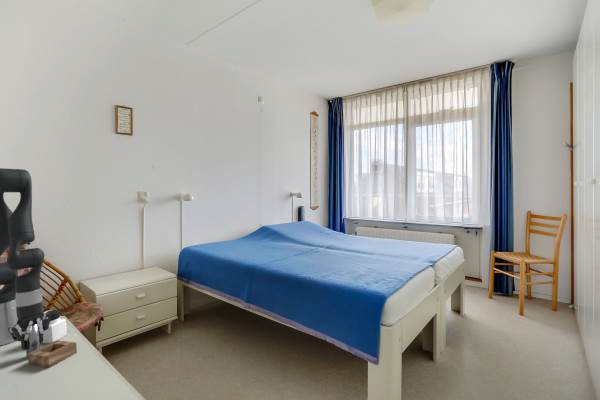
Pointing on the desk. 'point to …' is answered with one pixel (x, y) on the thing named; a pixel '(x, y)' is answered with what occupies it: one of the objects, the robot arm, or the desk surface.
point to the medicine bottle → (54, 327)
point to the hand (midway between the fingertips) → (32, 346)
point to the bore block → (52, 353)
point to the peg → (33, 339)
